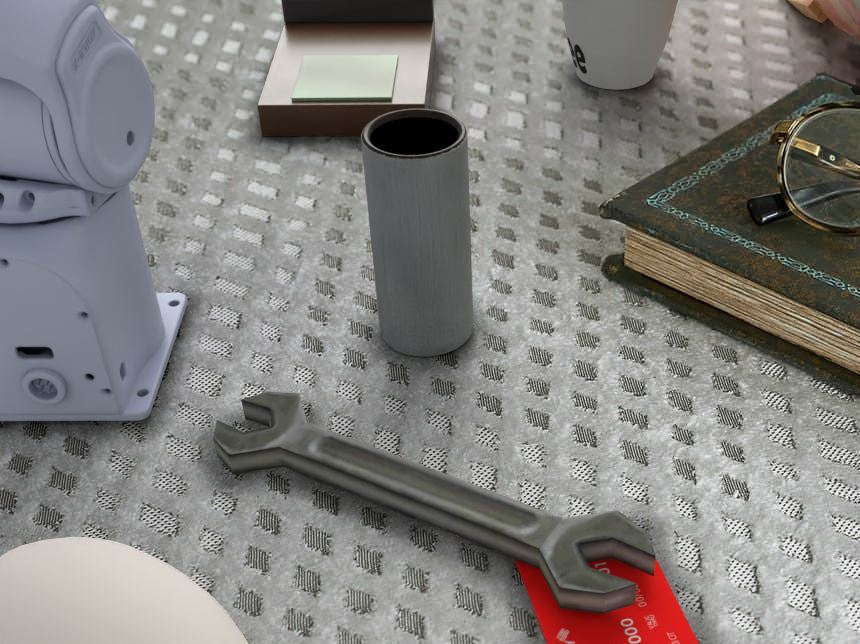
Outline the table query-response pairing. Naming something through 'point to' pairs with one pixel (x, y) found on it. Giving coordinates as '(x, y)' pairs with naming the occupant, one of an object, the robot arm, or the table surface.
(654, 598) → the credit card
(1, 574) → the egg
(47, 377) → the robot arm
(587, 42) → the cup
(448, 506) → the wrench
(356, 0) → the box with green square
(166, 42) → the table surface
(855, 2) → the planter
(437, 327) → the grey hollow cylinder
